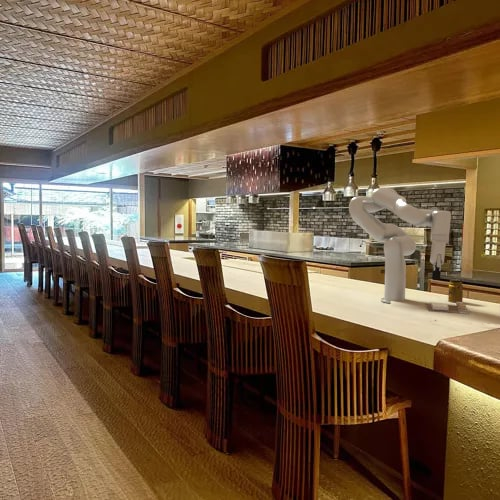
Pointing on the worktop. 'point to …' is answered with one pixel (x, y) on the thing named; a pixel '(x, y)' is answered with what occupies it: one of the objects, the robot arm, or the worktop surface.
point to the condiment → (455, 291)
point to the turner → (462, 308)
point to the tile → (439, 306)
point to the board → (450, 310)
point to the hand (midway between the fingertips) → (435, 279)
